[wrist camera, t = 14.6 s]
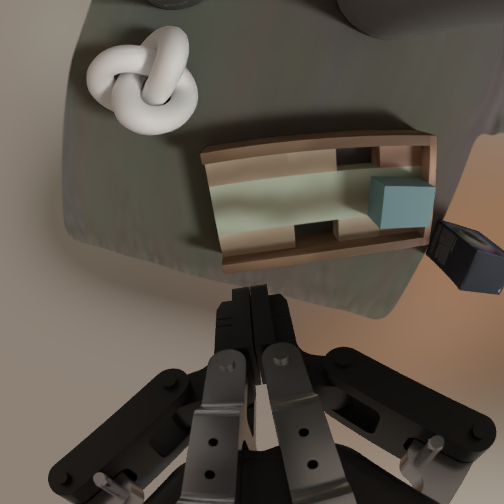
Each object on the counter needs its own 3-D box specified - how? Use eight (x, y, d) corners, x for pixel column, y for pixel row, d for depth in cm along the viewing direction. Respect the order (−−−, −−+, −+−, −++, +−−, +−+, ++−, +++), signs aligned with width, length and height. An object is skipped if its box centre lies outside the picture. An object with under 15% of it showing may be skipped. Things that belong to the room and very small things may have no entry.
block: (370, 176, 33) (384, 186, 30) (419, 177, 33) (435, 187, 30) (367, 215, 36) (380, 228, 32) (414, 214, 36) (429, 226, 32)
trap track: (205, 146, 34) (200, 153, 30) (415, 129, 33) (436, 135, 29) (225, 254, 41) (223, 274, 37) (412, 228, 40) (428, 244, 36)
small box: (480, 229, 41) (518, 259, 31) (466, 262, 44) (499, 296, 34) (438, 216, 39) (479, 249, 30) (424, 254, 42) (459, 292, 33)
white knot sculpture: (230, 96, 32) (227, 94, 24) (146, 152, 34) (120, 169, 26) (179, 23, 27) (160, 1, 19) (98, 83, 29) (61, 82, 21)
